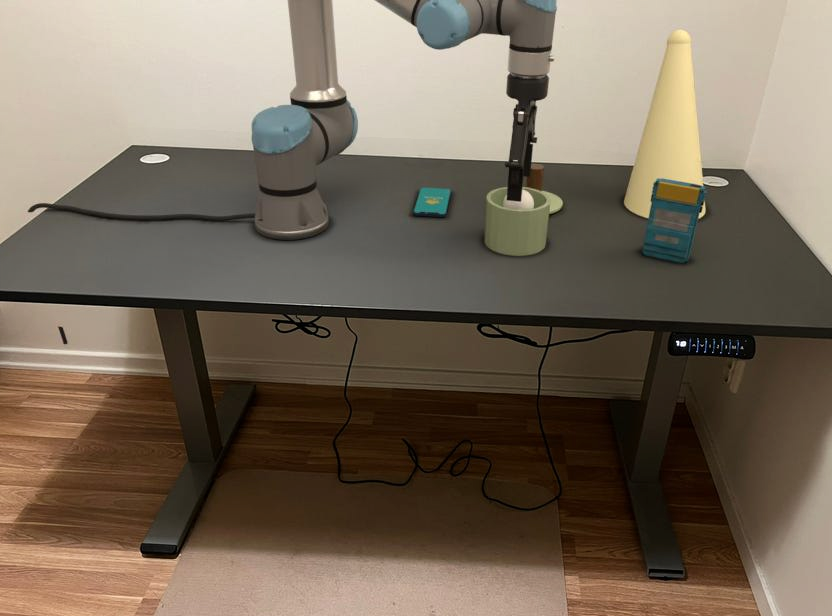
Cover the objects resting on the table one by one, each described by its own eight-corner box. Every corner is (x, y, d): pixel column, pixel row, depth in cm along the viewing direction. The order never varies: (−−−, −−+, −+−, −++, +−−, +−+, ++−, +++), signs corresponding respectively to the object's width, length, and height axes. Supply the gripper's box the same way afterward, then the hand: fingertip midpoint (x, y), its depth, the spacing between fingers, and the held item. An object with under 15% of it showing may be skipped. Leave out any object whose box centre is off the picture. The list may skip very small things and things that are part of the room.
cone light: (715, 223, 158) (756, 53, 138) (631, 220, 158) (660, 50, 138) (688, 182, 178) (721, 29, 158) (614, 180, 179) (637, 26, 159)
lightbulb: (534, 238, 149) (540, 188, 142) (520, 250, 145) (526, 200, 138) (508, 229, 151) (513, 180, 144) (494, 241, 147) (498, 192, 140)
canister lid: (497, 214, 160) (500, 174, 155) (507, 191, 171) (509, 153, 166) (559, 220, 158) (563, 180, 152) (564, 197, 169) (569, 159, 163)
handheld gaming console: (691, 257, 144) (708, 185, 135) (687, 266, 141) (704, 193, 132) (642, 247, 147) (656, 176, 139) (638, 255, 144) (651, 183, 136)
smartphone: (451, 188, 169) (445, 213, 157) (451, 191, 170) (445, 217, 157) (420, 187, 170) (412, 212, 157) (420, 190, 170) (412, 216, 158)
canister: (479, 251, 144) (481, 207, 139) (490, 226, 154) (492, 183, 149) (542, 259, 142) (546, 213, 137) (548, 232, 152) (553, 189, 147)
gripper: (541, 93, 119) (529, 214, 131) (555, 60, 139) (544, 168, 151) (496, 89, 120) (489, 209, 132) (517, 57, 140) (509, 164, 152)
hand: (518, 187), depth 142 cm, fingers open, 13 cm apart
